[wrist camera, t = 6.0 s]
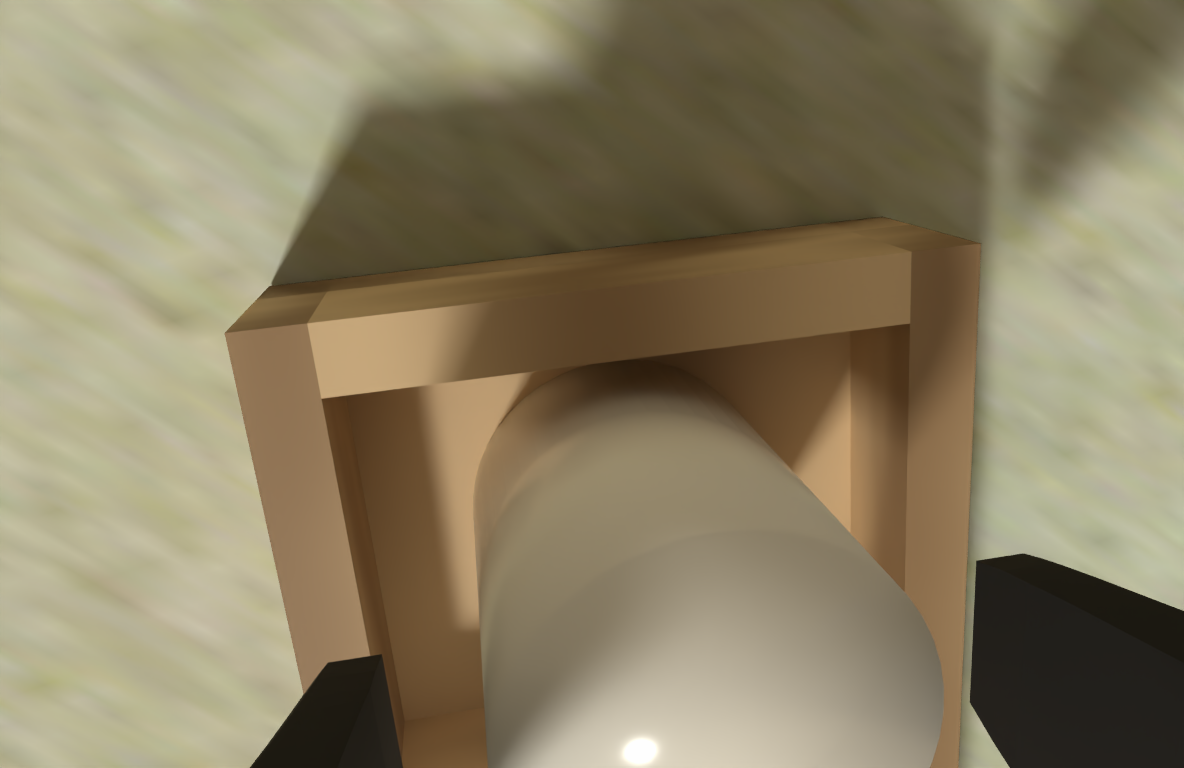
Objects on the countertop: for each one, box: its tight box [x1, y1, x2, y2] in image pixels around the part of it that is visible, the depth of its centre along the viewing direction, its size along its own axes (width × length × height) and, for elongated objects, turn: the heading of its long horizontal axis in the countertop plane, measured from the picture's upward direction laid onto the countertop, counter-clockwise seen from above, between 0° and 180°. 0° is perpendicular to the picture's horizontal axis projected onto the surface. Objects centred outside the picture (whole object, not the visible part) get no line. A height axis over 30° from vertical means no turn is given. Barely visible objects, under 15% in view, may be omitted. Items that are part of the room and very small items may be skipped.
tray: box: [225, 217, 981, 768], centre depth 16 cm, size 10×16×3 cm, turn 5°
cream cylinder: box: [473, 360, 944, 768], centre depth 12 cm, size 5×5×6 cm
